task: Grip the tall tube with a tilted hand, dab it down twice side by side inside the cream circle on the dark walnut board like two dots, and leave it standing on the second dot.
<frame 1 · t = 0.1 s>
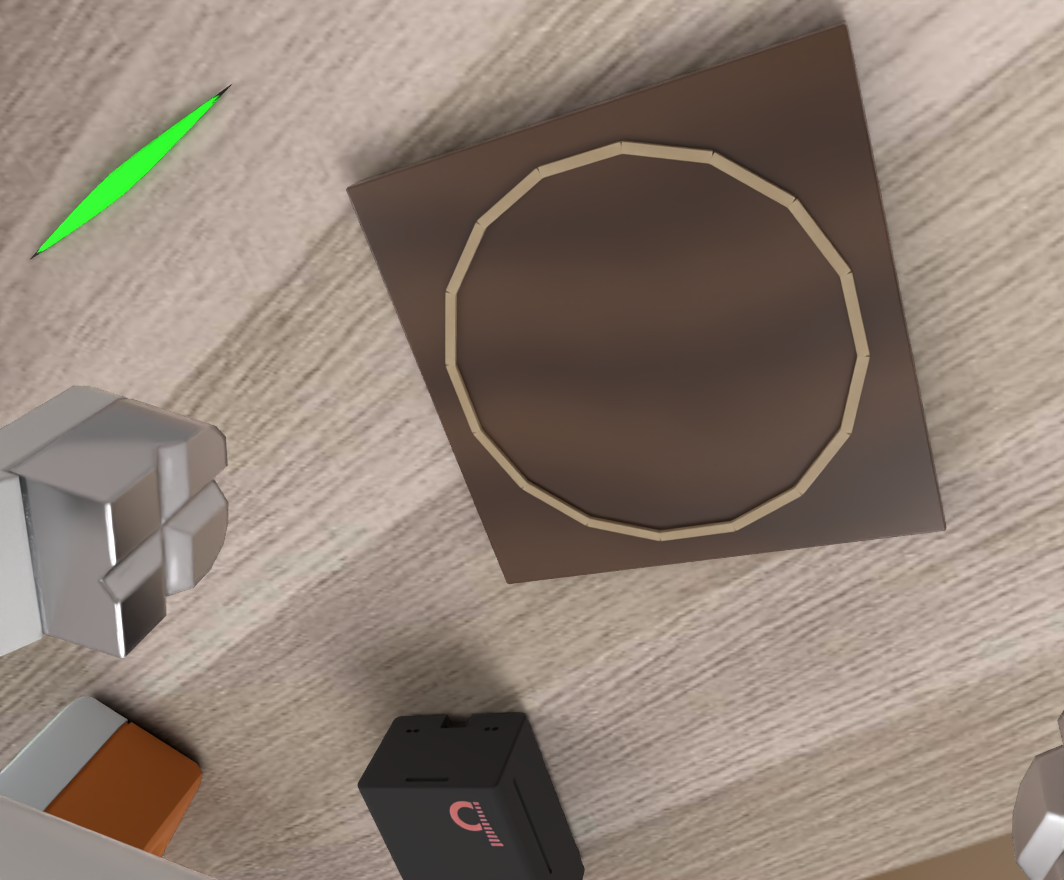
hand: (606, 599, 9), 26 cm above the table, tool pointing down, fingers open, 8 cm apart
electronic device: (494, 786, 50), on the table
leaf: (131, 175, 40), on the table
board: (648, 348, 36), on the table
alarm clock: (117, 797, 61), on the table
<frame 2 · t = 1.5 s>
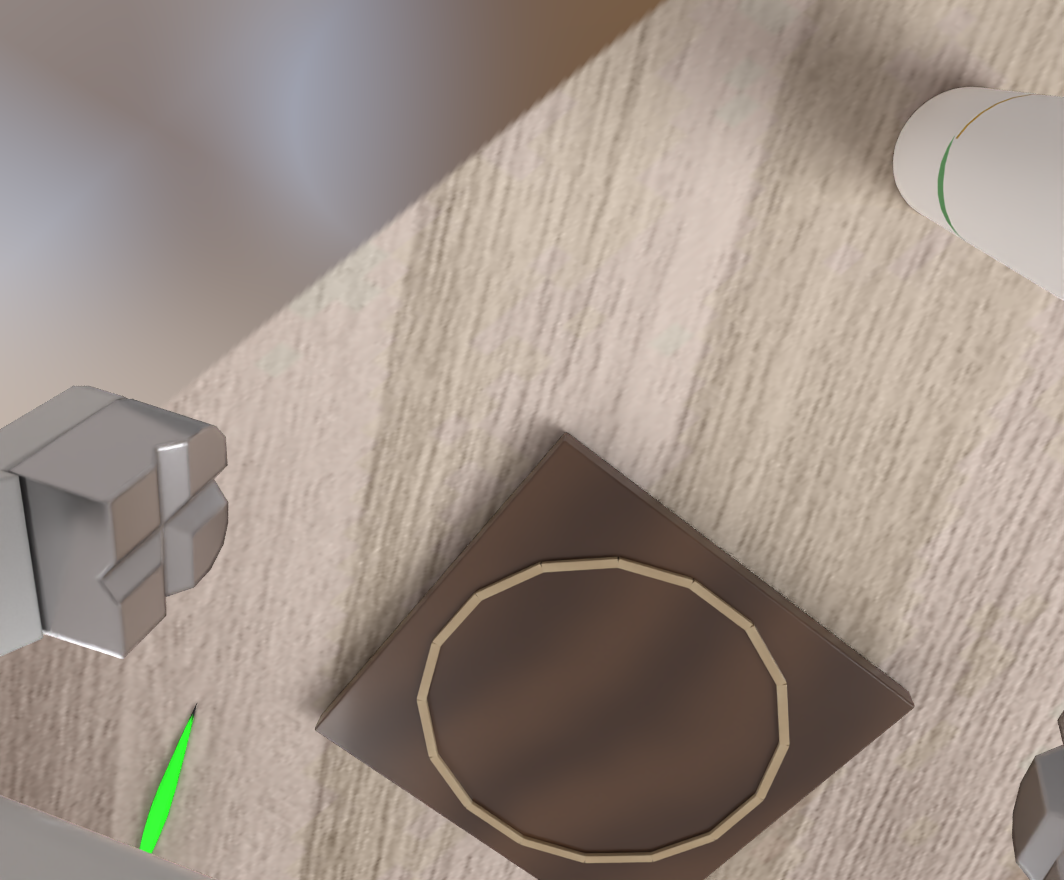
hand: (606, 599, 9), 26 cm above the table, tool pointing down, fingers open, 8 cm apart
tube: (958, 155, 32), on the table
leaf: (166, 799, 47), on the table
board: (601, 704, 41), on the table
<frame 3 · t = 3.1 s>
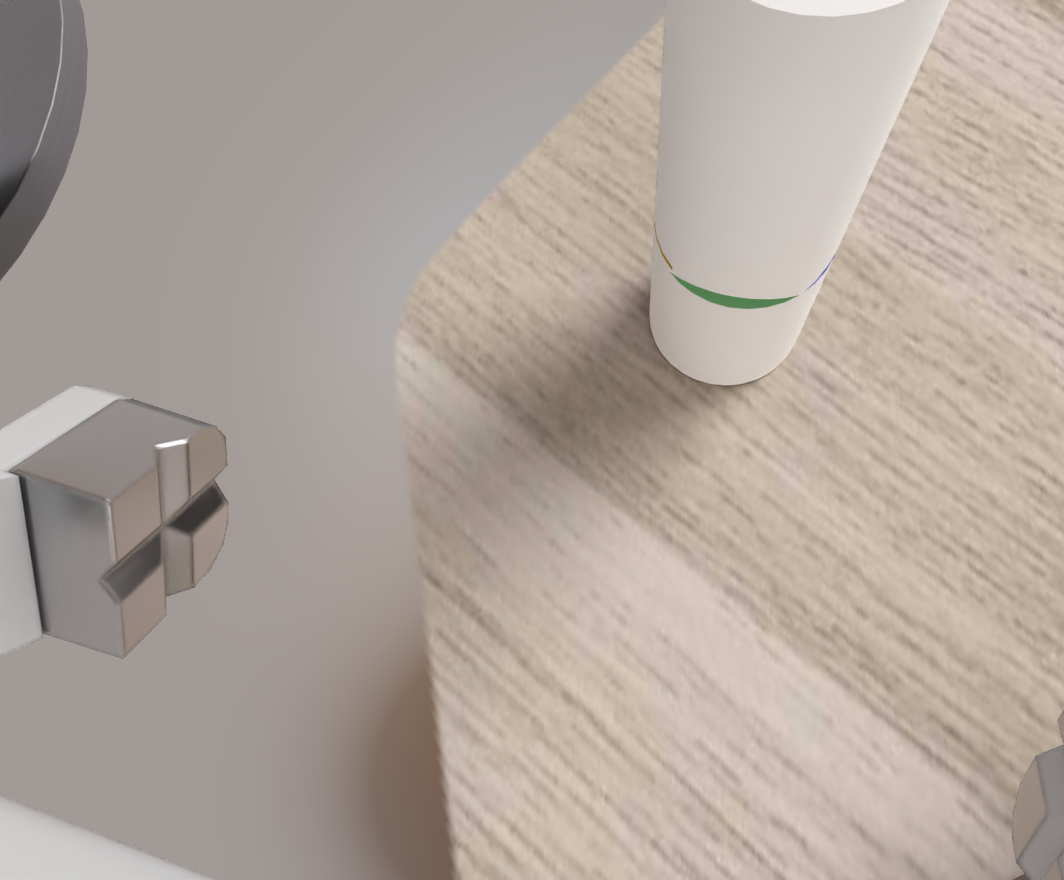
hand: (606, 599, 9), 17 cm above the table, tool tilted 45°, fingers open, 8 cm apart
tube: (723, 317, 28), on the table
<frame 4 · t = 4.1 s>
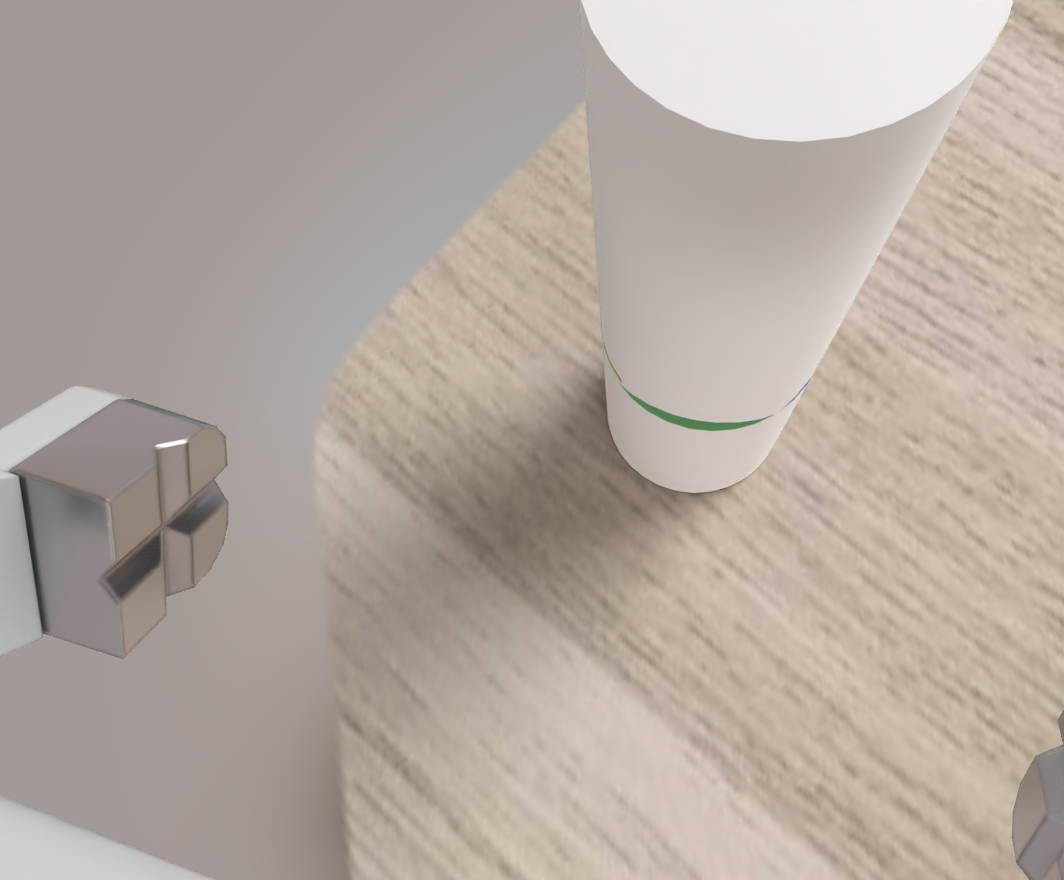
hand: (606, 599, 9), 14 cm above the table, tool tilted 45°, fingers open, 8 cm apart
tube: (692, 411, 24), on the table
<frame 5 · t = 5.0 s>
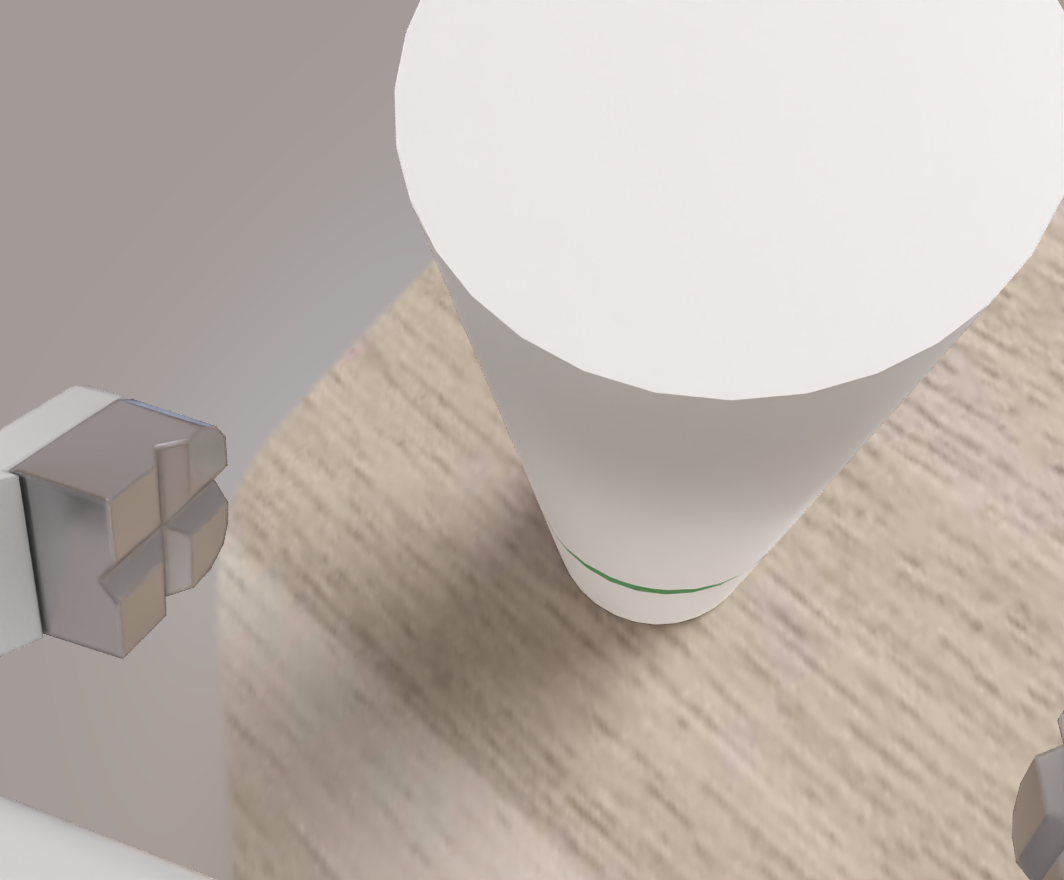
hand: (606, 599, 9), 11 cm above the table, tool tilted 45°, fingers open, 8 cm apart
tube: (655, 524, 21), on the table
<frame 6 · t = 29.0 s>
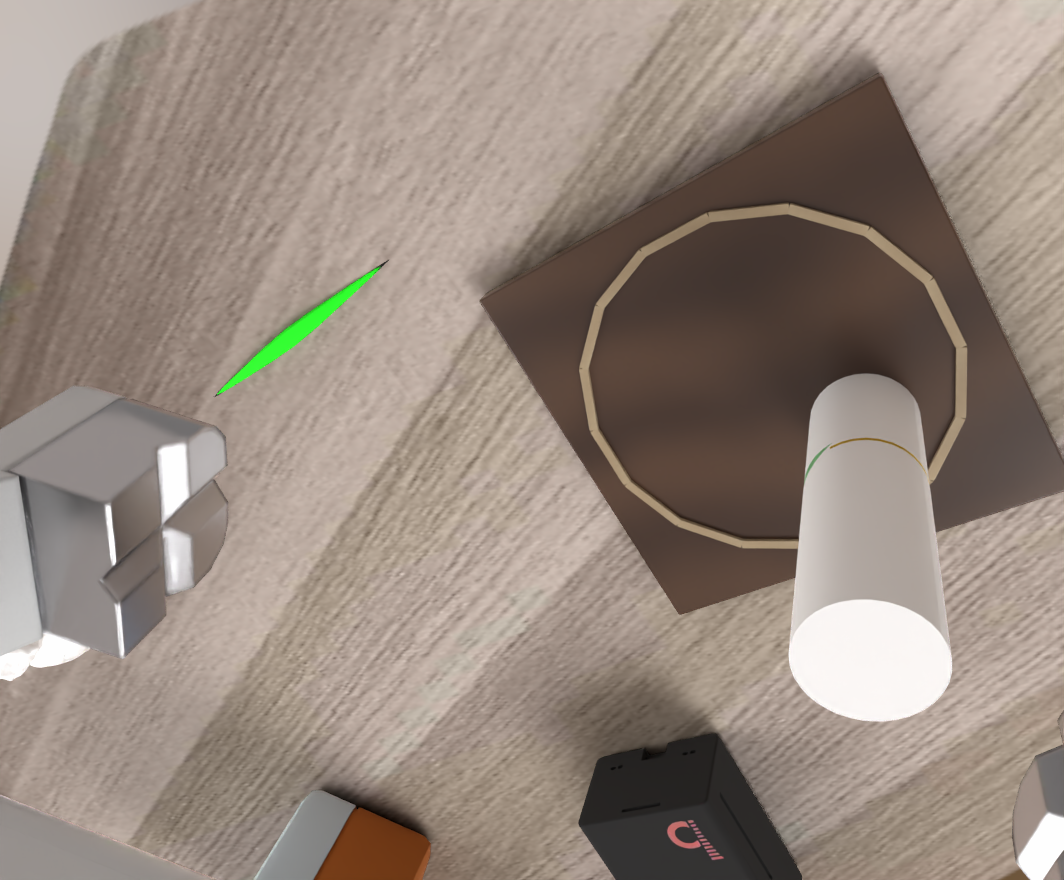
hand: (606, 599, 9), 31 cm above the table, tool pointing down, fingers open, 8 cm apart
electronic device: (700, 809, 54), on the table
tube: (864, 419, 39), point 1 cm above the table, touching board
leaf: (300, 329, 47), on the table
board: (765, 380, 41), on the table
white tied bag: (113, 559, 58), on the table
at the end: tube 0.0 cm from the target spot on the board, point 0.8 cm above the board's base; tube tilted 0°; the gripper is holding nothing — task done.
